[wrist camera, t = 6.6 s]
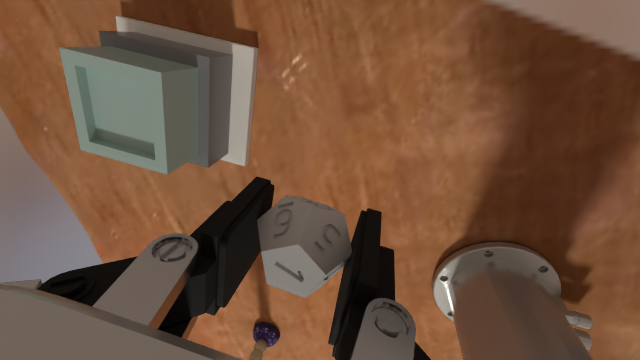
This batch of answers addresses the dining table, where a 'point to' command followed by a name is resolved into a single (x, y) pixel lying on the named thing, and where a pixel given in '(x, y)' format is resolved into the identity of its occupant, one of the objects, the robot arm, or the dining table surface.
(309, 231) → the game die
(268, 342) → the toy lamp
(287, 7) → the dining table surface
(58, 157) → the dining table surface
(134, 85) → the stepped pedestal
